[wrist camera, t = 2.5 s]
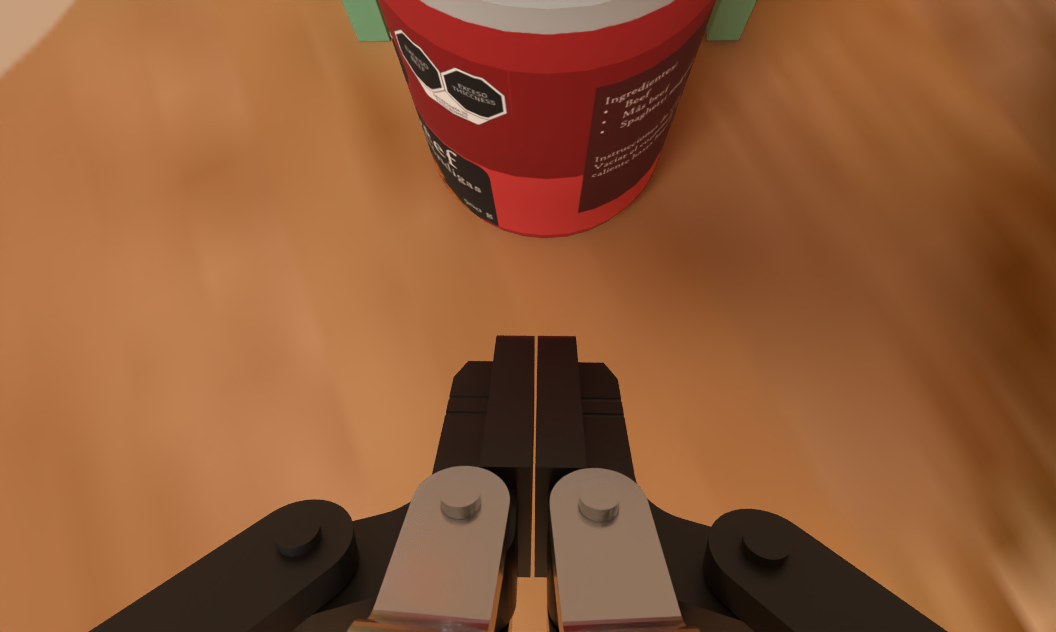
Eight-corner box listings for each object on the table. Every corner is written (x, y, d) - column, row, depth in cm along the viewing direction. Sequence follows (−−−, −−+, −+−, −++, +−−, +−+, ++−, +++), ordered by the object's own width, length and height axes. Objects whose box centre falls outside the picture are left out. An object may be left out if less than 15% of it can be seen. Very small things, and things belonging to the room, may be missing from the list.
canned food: (431, 63, 23) (337, -290, 13) (642, 48, 23) (727, -319, 13) (437, 254, 21) (330, 25, 11) (668, 237, 21) (795, -9, 11)
